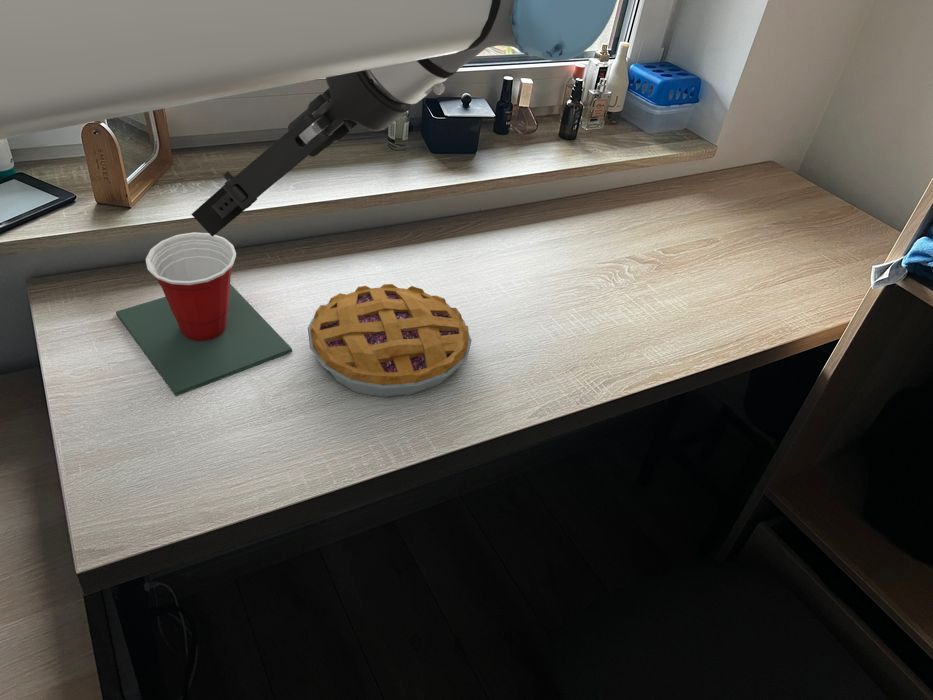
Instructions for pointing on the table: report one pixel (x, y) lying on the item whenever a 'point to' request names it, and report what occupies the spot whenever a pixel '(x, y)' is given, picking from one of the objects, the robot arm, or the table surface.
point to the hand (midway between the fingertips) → (240, 194)
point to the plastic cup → (195, 281)
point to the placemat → (202, 343)
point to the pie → (389, 340)
